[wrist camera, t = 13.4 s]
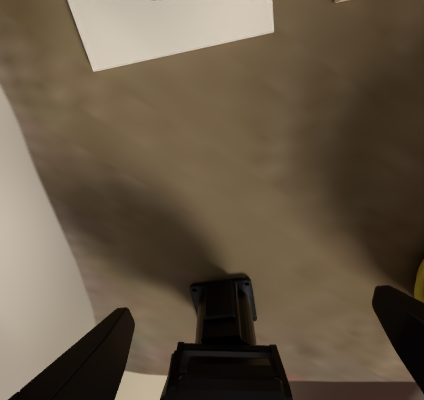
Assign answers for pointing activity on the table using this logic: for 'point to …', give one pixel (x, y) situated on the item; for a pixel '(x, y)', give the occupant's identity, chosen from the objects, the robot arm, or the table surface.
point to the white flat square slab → (164, 27)
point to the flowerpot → (420, 284)
